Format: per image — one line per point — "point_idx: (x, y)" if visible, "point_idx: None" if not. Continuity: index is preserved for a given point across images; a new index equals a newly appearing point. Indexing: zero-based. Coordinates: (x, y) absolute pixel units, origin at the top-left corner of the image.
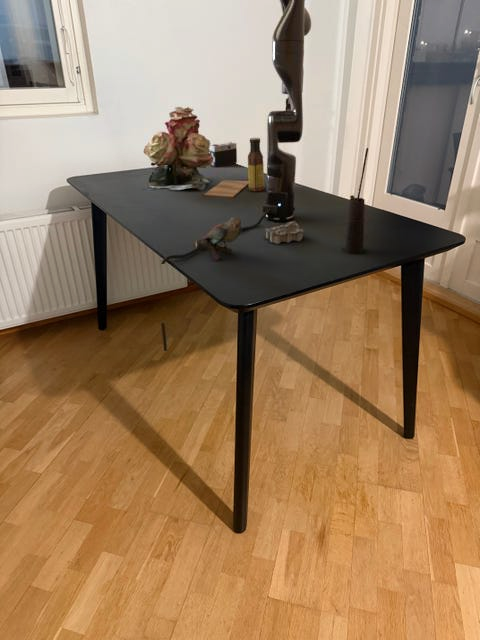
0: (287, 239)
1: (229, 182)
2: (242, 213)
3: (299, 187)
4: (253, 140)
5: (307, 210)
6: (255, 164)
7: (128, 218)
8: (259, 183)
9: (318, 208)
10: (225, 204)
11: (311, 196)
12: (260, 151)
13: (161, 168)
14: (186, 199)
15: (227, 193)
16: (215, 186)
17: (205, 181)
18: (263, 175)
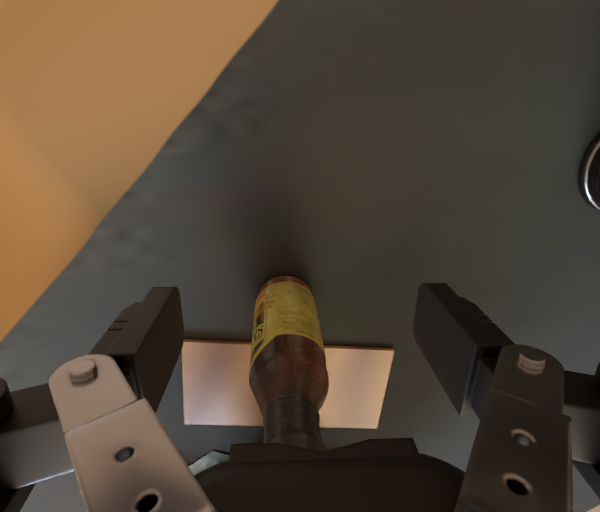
0: None
1: (215, 400)
2: (566, 286)
3: (198, 133)
4: None
5: (553, 63)
6: (325, 361)
7: (578, 504)
8: (312, 299)
9: (529, 13)
10: None
11: (344, 60)
12: (291, 387)
13: None
14: (421, 452)
15: (361, 373)
16: None
17: (209, 464)
18: (289, 302)
